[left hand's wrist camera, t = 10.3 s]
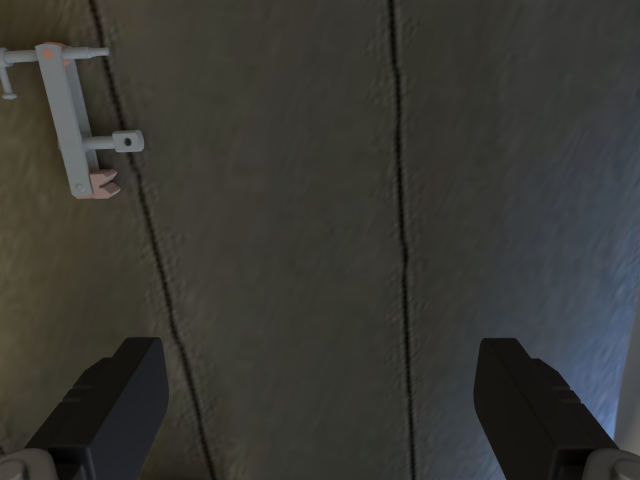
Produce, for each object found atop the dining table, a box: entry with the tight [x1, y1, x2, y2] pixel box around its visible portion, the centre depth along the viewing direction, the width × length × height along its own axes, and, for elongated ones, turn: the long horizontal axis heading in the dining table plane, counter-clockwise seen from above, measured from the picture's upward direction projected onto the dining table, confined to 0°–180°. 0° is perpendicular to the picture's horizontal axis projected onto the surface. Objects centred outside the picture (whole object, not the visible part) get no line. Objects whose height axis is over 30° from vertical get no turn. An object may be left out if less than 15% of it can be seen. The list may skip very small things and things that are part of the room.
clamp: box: [0, 42, 144, 199], centre depth 34 cm, size 15×2×10 cm
